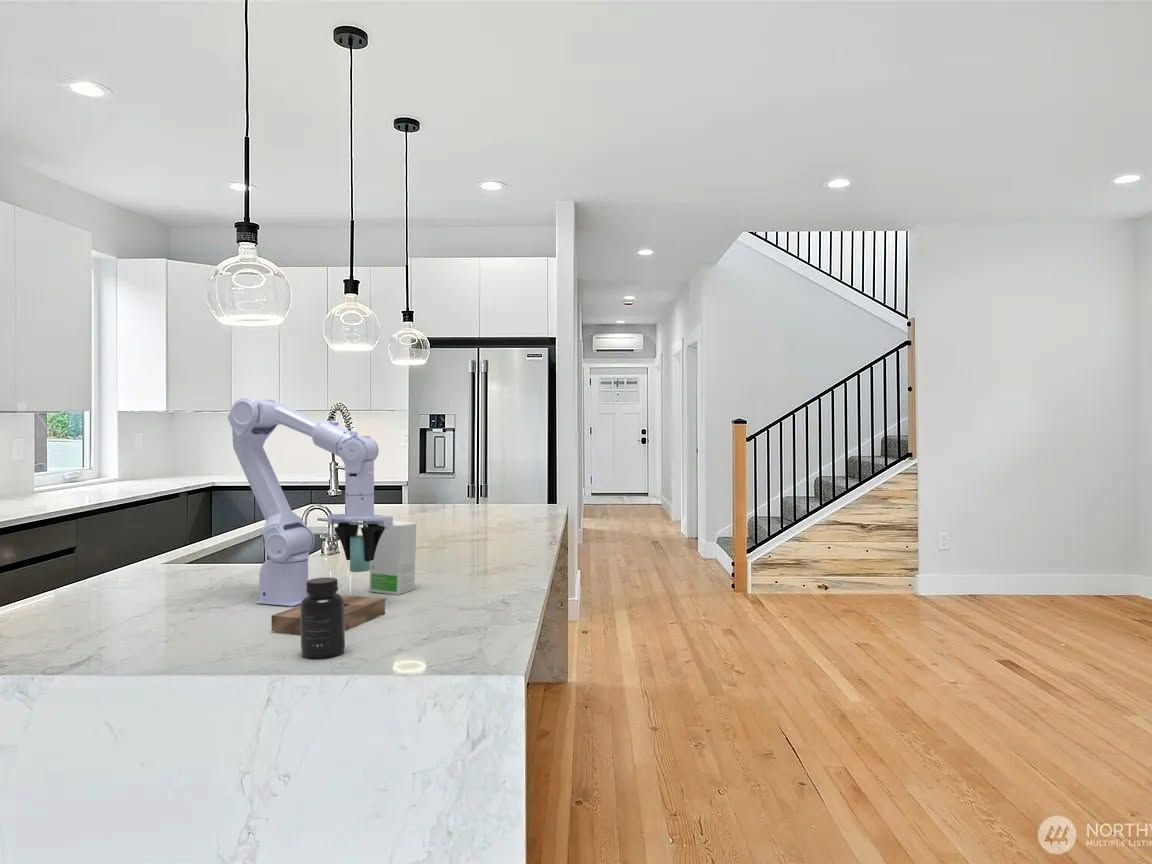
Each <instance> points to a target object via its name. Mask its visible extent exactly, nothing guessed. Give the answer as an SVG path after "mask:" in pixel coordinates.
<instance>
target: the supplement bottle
mask: <svg viewBox="0 0 1152 864" xmlns="http://www.w3.org/2000/svg"><path fill="white" fill-rule="evenodd" d="M338 584H339V583H338V579H337V578H336V577H328V576H327V577H325V576H324V577H317V578H311V579H308V581H307V589H306V593H308V596H307V597H305V598H304V599H303V600H302V602H301V604H299V606H300V616H301V635H300V651H301V655H302V656H303V657H304V658H306V659H312V660H322V659H329V658H334V657H337V656H339V655H341V654H343V652H344V650H345V649H346V634H345V633H346V630H345V617H344V599H343V598H342V596H340V595H341V594H338V593H337V592H338V591H339V586H338Z"/></svg>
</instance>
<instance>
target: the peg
mask: <svg viewBox="0 0 1152 864" xmlns="http://www.w3.org/2000/svg"><path fill="white" fill-rule="evenodd" d="M349 571H350V572H352V573H363V572H370V561H365V547H364V539H363V534H359V535H356V536H351V537H350V560H349Z"/></svg>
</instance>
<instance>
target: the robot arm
mask: <svg viewBox="0 0 1152 864" xmlns="http://www.w3.org/2000/svg"><path fill="white" fill-rule="evenodd" d="M232 404H233V405H232V406H231V408H230V410H229V414H228V415H227V419H228V421H229V423H230V427H231V431H232V432H231V433H232V448H233V450H234V452H235V455H236V457H237V459H238V461H239V464H240V466H241V468H242V471H243V473H244V475H245V478H246V479H247V482H248V484H249V486H250V489H251V490H252V494H253V495H254V497H255V499H256V502H257V504H258V507H259V509H260V511H261V514H262V516H263V518H264V520H265V524H264V526H263V527H262V530H261V534H262V536H263V539H264V540H263V541H264V546H263V547H264V551H265V553H266V556H268V558H269V559H267V560H265V561H264V562H263V563H262V564H261V567H260V569H259V574H258V575H259V576H258V577H259V578H258V579H259V580H258V581H259V582H258V583H259V584H258V585H259V586H258V587H259V589H258V590H259V599H258V600H257V601H256V603H257V604H262V605H275V606H287V607H295V606H296V607H297V606H298V605H299V606H300V605H301V602H302V600H303V599H304V598H305V597H307V596H308V593H306V589H307V581H308V580H309V557H310V552H311V551H312V550H313V548H314V547H315V543H316V542H315V541H316V539H315V534H314V532H313V530H311V529H310V528H309V527H308V526H307V525H306V524H305V522H304V520H303V518H302V517H301V516H299V515H297V514H296V513H295V512H294V511H293V510H292V509H291V506H290V505H289V503H288V500H287V497H286V496H285V493H284V491H283V489H282V487H281V484H280V482H279V480H278V477H277V476H276V475H277V474H276V473H275V471H274V469H273V467H272V465H271V461H270V459H269V458H268V456H267V453H266V451H265V449H264V445H265V442H266V440H267V439H268V437H270V435H271V434H272V433H273V432H274V430H275V429H276V428H277V426H279V425H282V426H285V427H286V428H288V429H289V428H290V429H291V430H294V431H296V432H299V433H301V434H304V435H306V436H309V437H310V438H312V443H313V444H314V445H315V446H316V447H319V448H320V449H322V450H325V451H326V452H329V453H331V454H332V455H333V454H334V455H335V456H338V457H339V458H340V459H341V461H342V462H343V464H344V475H345V476H344V478H345V479H344V480H345V483H344V484H345V485H344V486H345V487H344V488H345V491H344V493H345V497H344V498H345V499H344V500H345V501H344V502H345V503H344V504H345V511H344V514H343V513H339V514H338V513H331V514H327V517H326V519H327V525H337V526H336V527H334V532H335V533H336V536H337V537H338V539H339V541H340V542H341V545H342V548H343V552H344V555H345V560H346V561H350V537H351V536H356V535H357V534H358V529H359V526H363V527H361V528H360V531H361V533H362V534H361V535H363V539H364V547H365V561H372V560H374V556H375V551H376V548H377V545H378V542H379V539H380V537H381V535H382V533H383V532H384V530H385V527H389V526H393V521H394V517H393V516H392V515H381V514H380V515H379V514H375V492H374V491H375V472H374V471H375V463H374V461H375V460H376V459H377V457H378V456H379V452H380V451H379V450H380V449H379V445H378V443H377V441H376V440H375V439H373V438H372V437H371V436H369V435H362V436H359V435H358V431H357V430H354V429H353V430H349V429H346V428H344V427H342V426H340V425H339V423H340V422H339V421H336V420H330V421H329V420H325V421H324V420H323V421H321V422H318V421H316V420H314V419H312V418H310V417H309V416H306V415H305V414H303V413H300V412H299V411H297V410H295V409H293V408H292V407H289V406H287V404H284V403H280V402H277V401H276V400H273V399H265V400H264V399H249V398H246V397H243V398H238V399H237V400H236V401H235V402H234V403H232Z"/></svg>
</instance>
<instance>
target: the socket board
mask: <svg viewBox="0 0 1152 864" xmlns="http://www.w3.org/2000/svg"><path fill="white" fill-rule="evenodd" d="M339 595H340V596H342V598H343V599H344V617H345V631H347V630H350V629H352V628H354V626H355V627H357V626H359V625H362V624H364V623H366V621H367V622H368V620H369V621H371V620H374V619H375V617H376V618H378V617H380V616H379V615H381V616H382V614H383V615H385V614H386V599H385V598H382V597H380V598H379V597H370V596H369V597H368V596H358V595H357V596H355V595H342V594H339ZM384 613H385V614H384ZM377 616H378V617H377ZM373 618H374V619H373ZM370 619H371V620H370ZM363 622H364V623H363ZM361 623H362V624H361ZM272 631H274V632H273V633H275V632H282V633H281V634H285V633H290V634H289V635H295V634H297V635H298V636H301V616H300V605H299V606H298V605H297V606H296V607H295V606H294V607H293V608H290V609H287V610H284V611H281V612H277V613H275V614H272V615H271V632H272Z"/></svg>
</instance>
